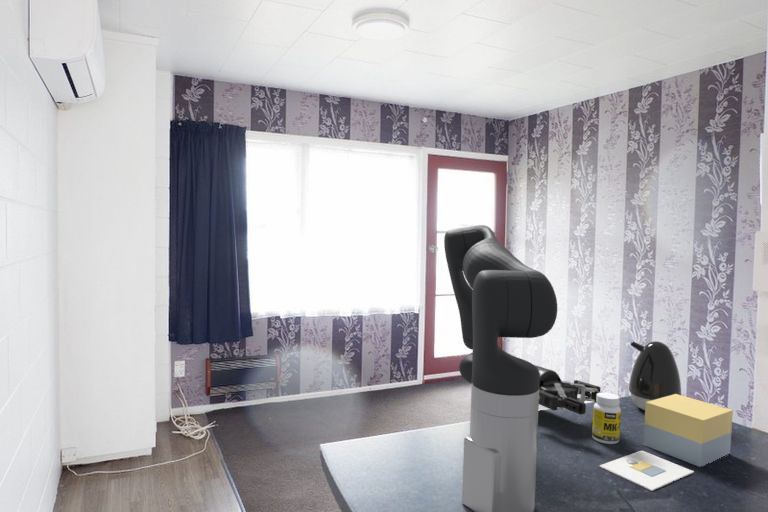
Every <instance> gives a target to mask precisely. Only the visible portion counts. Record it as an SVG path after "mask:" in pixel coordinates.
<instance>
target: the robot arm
mask: <svg viewBox="0 0 768 512" xmlns="http://www.w3.org/2000/svg"><path fill="white" fill-rule="evenodd" d="M443 238H444V239H443V241H444V242H443V244H444V246H443V247H444V254H445V260H446V265H447V268H448V273H449V277H450V282H451V285H452V290H453V292H454V294H453V295H454V297H455V300H456V304H457V308H458V313H459V319H460V326H461V335H462V342H463V343H464V345H465V347H467V348H468V349H469V350H472V352H470V353H469V354H467V355H465V356H464V357H463V358H462V359H461V360H460V362H459V366H458V368H459V369H458V370H459V374H460V375H461V377H462V379H464V380H465V381H466V382H467V383H469V384H471V389H470V414H469V415H470V417H469V418H470V419H469V436H466V437H464V440H463V456H462V457H463V461H462V487H461V488H462V489H461V491H462V492H461V493H462V494H461V503H462V504H464V505H465V506H466V507H468V508H469V509H470V510H472V511H473V512H534V511H535V500H536V499H535V498H536V478H537V477H536V475H537V474H536V471H537V455H538V454H537V451H538V426H539V424H538V423H539V407H540V406H542V407H544V408H546V409H550V410H552V411H557V410H558V408H559V409H560V410H562V411H566V410H568V411H569V412H573V413H576V414H579V415H580V416H581V415H585V414H586V410H587V409H586V406H587V405H586V403H585V402H592V403H597V402H596V396H597V393H601V392H602V391H601V388H602V387H601V386H599V385H595V384H591V383H589V382H584V381H581V380H578V379H575V380H573V382H571V381H569V380H568V381H567V380H561V376H559V374H558V373H557V372H556V371H555V370H552V369H548V368H546V367H542V366H539V365H535V364H533V363H532V362H530V361H528V360H525V359H523V358H520V357H518V356H515V355H512V354H510V353H508V352H506V351H505V350H504V349H503V348H501V347H500V346H499V344H498V343H499V342H498V339H499V338H513V339H515V338H517V339H518V338H520V339H523V338H524V339H525V338H526V339H532V338H538V337H542V336H544V335H546V334H548V333H549V332H550V331H551V330H552V328H553V327H554V325H555V323H556V320H557V315H558V301H557V295H556V293H555V292H556V291H555V289H554V287H553V285H552V283H551V281H550V280H549V279H548V277H547V276H546V274H544V273H542V272H541V271H539V270H536V269H533V268H532V267H529V266H527V265H526V264H524V263H523V262H522V261H521V260H519V259H518V258H517V257H515V256H514V254H513V253H512V252H511V251H510V250H509V249H508V248H507V247H505V246H504V245H502V244H501V242H500V241H499V240H498V238H497V235H495V232H494V231H493V230H492V228H491V227H490V226H488V225H485V224H477V225H469V226H465V227H464V226H463V227H459V228H453V229H449V230H447V231H446V232H445V234H444V237H443ZM579 395H580V397H578V396H579ZM539 405H540V406H539Z"/></svg>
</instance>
